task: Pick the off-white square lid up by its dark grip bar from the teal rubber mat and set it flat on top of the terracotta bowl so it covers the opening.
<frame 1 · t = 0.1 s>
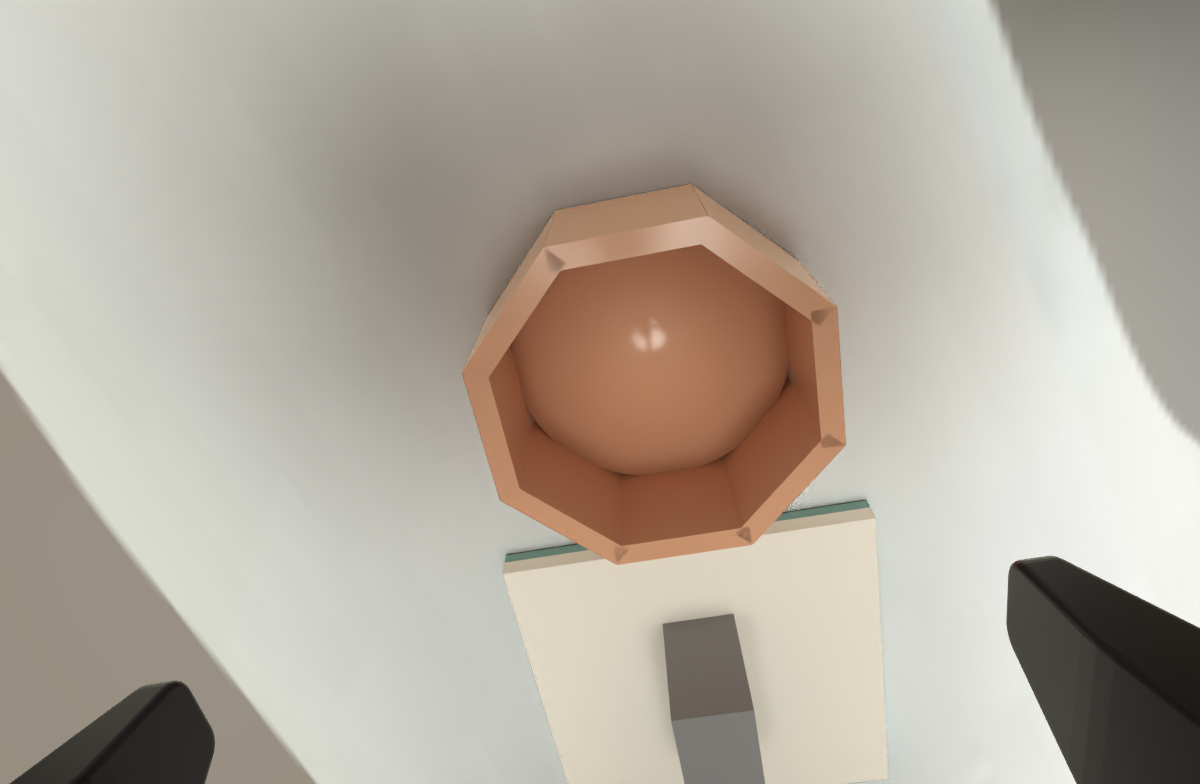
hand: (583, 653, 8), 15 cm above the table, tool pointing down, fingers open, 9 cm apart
mat: (706, 662, 27), on the table
bowl: (650, 348, 22), on the table
lid: (707, 670, 27), resting on mat
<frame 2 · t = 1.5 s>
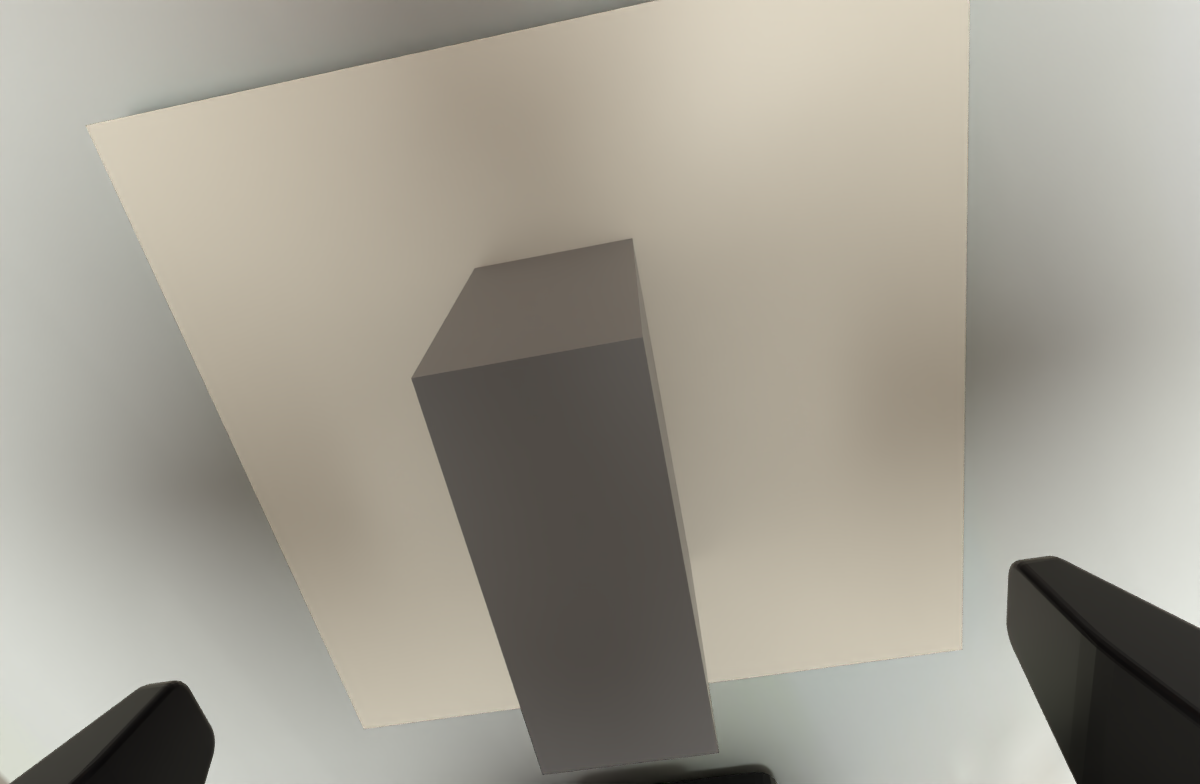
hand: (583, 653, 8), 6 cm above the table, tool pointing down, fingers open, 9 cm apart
lid: (593, 412, 13), resting on mat
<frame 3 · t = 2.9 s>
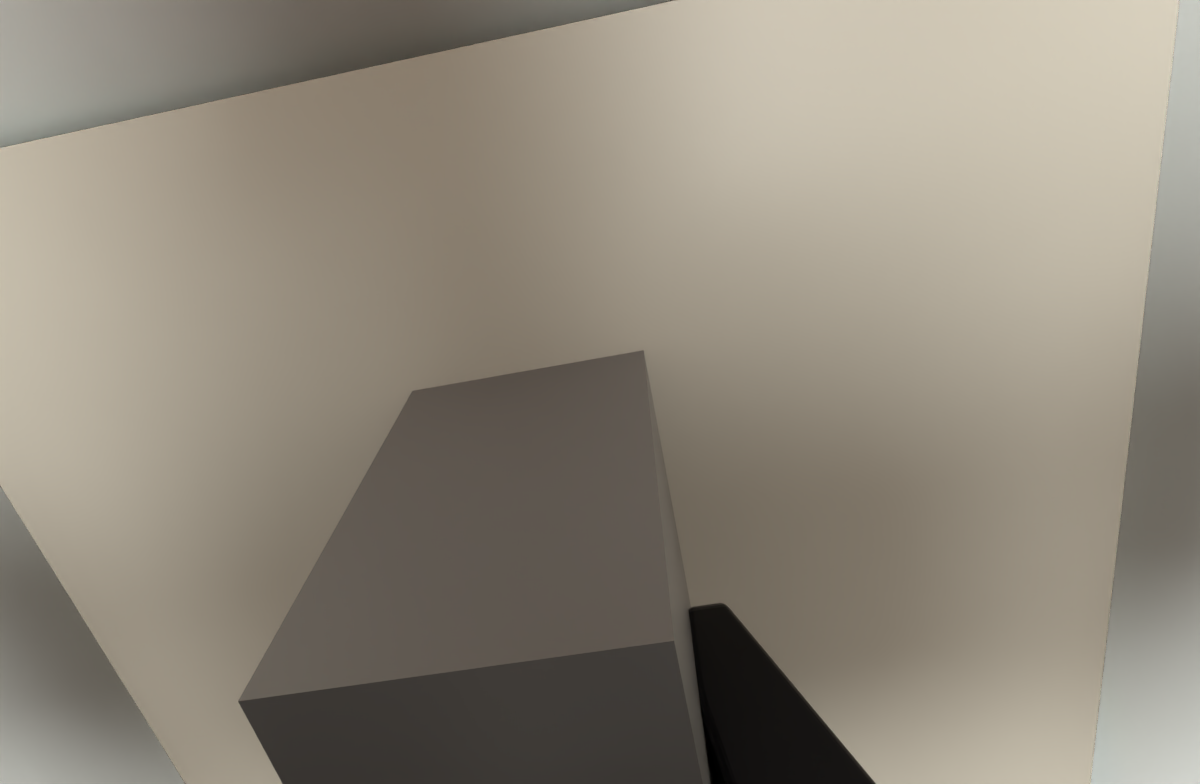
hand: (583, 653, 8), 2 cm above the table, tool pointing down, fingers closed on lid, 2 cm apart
lid: (587, 568, 9), resting on mat, touching gripper
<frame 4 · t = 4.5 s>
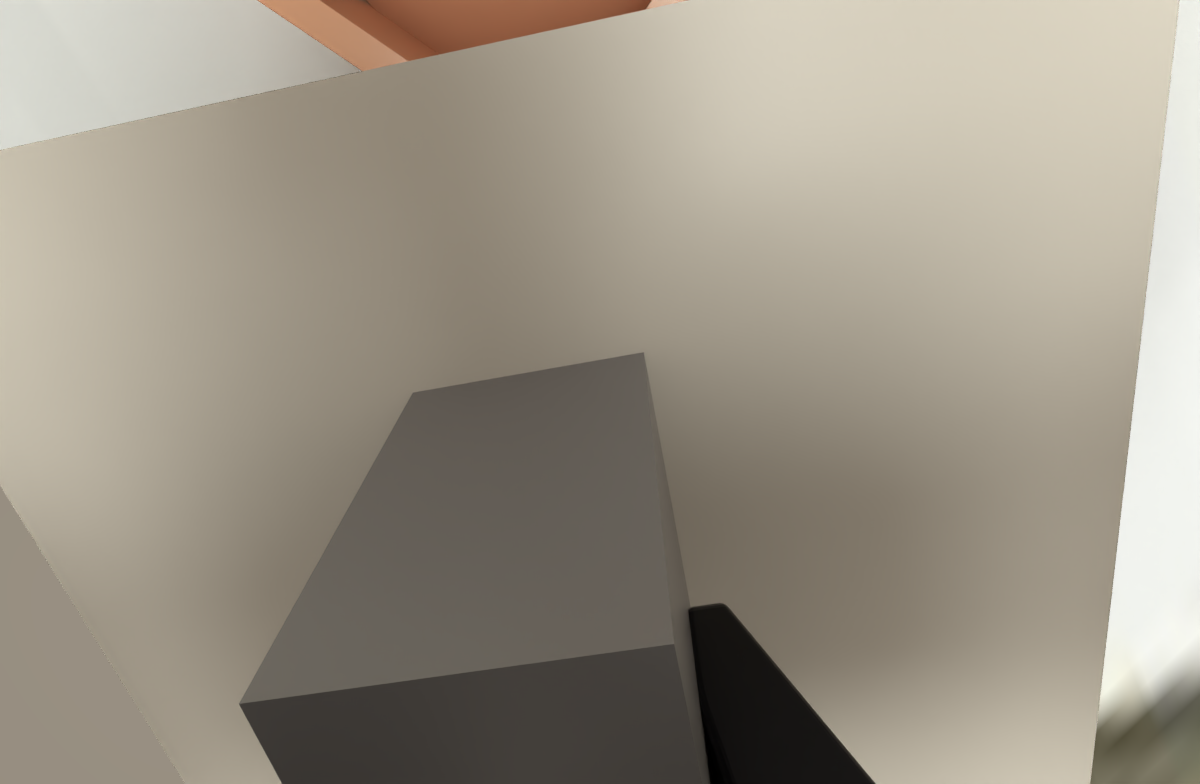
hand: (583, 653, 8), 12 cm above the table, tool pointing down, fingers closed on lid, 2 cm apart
lid: (587, 570, 9), point 11 cm above the table, touching gripper
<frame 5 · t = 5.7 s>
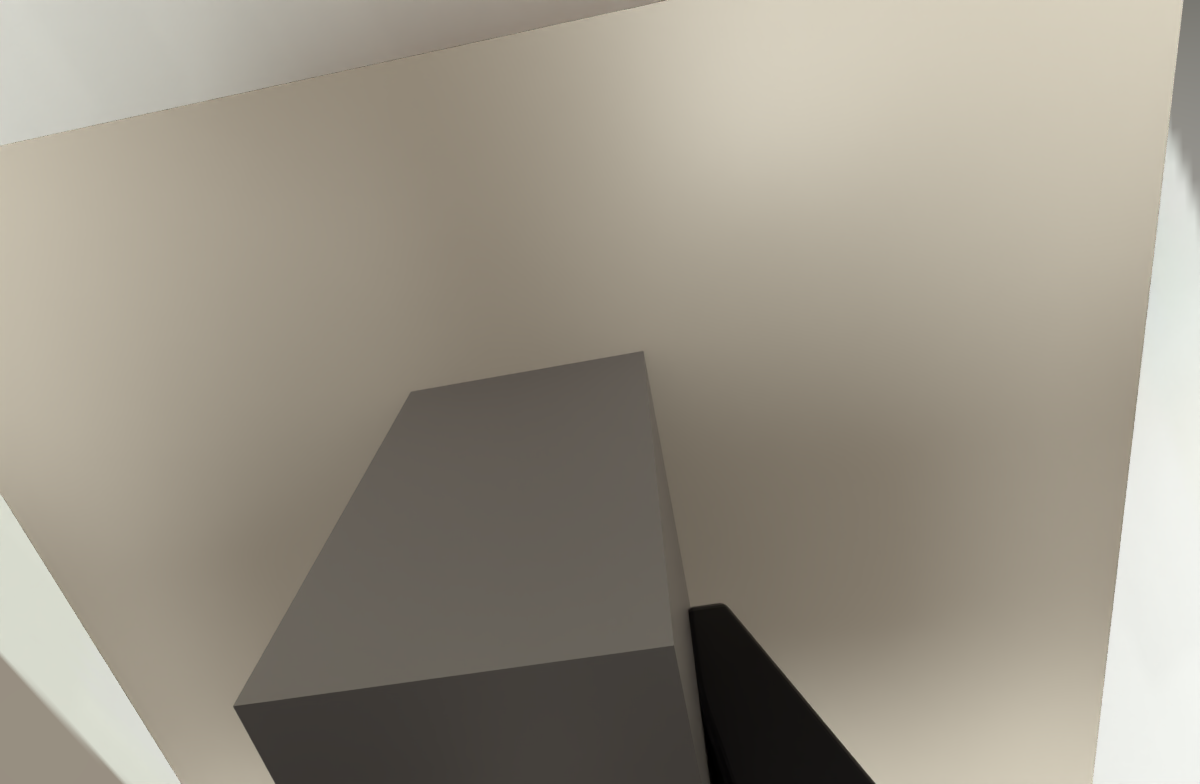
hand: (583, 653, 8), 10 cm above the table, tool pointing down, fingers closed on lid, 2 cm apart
lid: (586, 570, 9), point 8 cm above the table, touching gripper
when the fingers open (7 cm above the table, at t = 6.4 s): lid drops 1 cm, resting on bowl.
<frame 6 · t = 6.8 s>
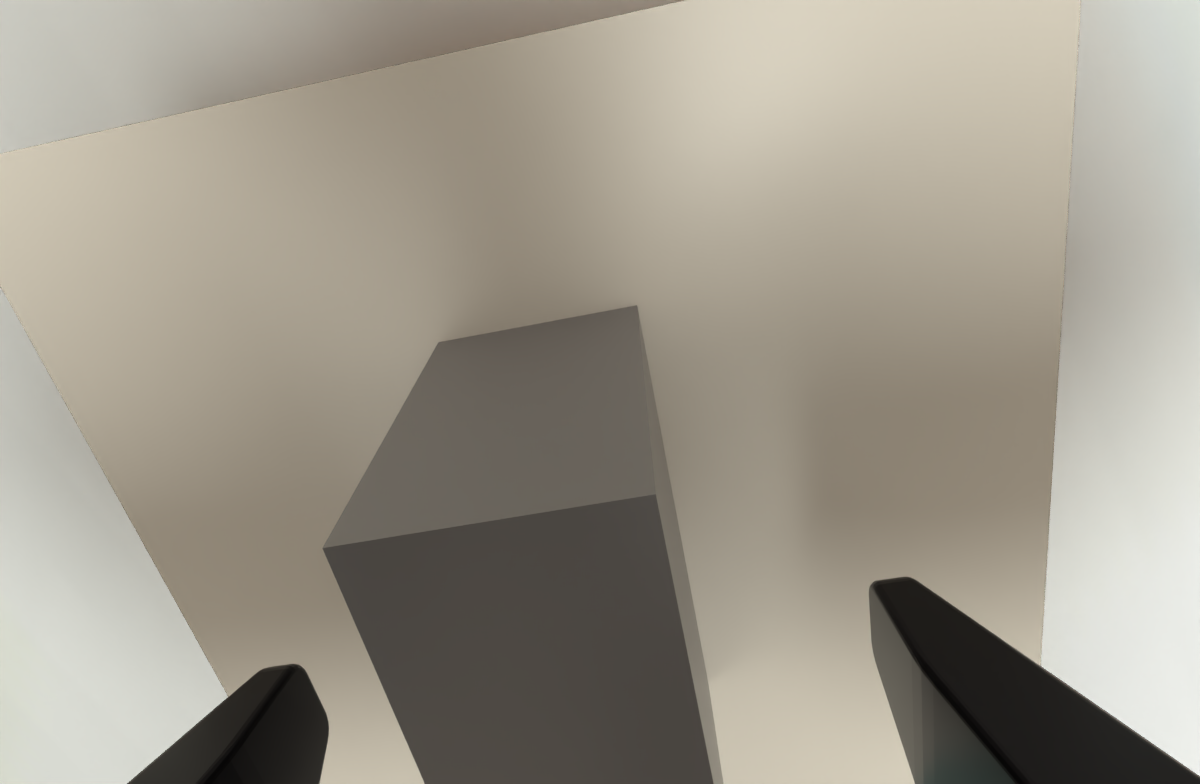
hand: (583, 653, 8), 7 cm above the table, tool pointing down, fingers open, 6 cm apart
lid: (589, 506, 11), point 4 cm above the table, touching bowl
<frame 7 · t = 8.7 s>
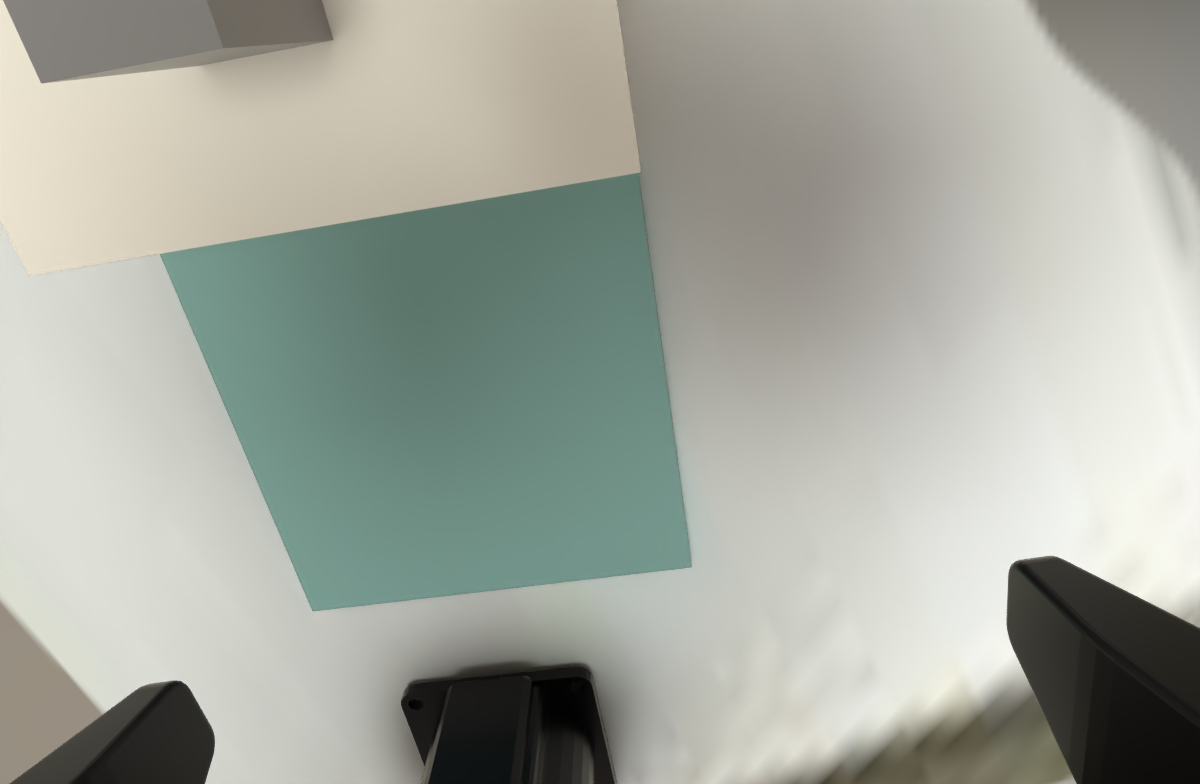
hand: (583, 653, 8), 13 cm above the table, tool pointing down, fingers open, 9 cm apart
mat: (453, 413, 21), on the table
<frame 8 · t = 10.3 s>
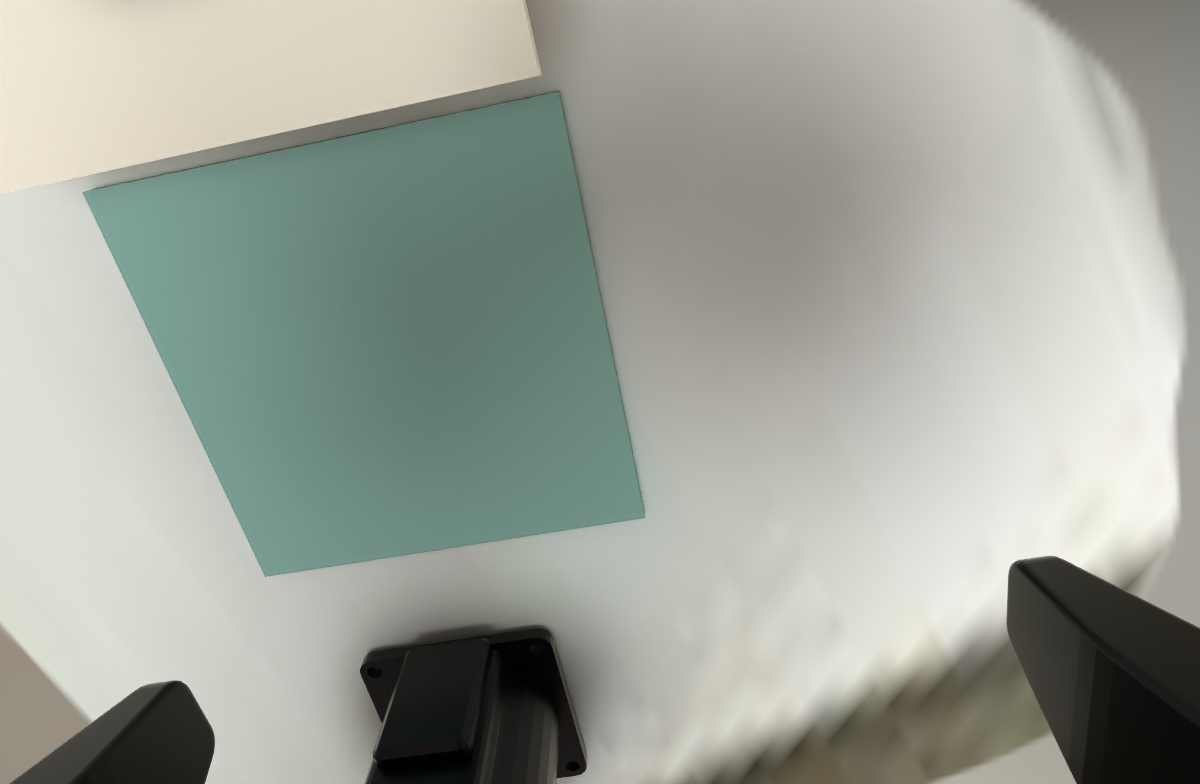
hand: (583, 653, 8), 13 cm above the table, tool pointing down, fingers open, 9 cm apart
mat: (393, 364, 21), on the table
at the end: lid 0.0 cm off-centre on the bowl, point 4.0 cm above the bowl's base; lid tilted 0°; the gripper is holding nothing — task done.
